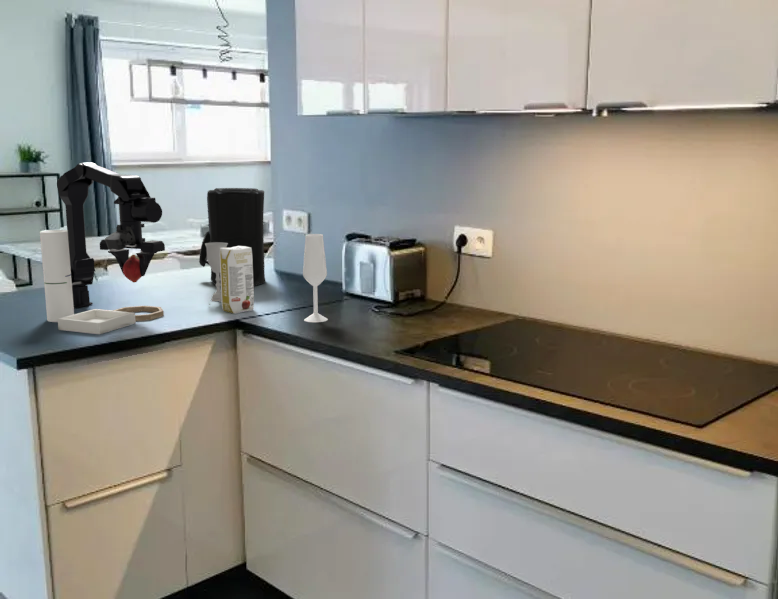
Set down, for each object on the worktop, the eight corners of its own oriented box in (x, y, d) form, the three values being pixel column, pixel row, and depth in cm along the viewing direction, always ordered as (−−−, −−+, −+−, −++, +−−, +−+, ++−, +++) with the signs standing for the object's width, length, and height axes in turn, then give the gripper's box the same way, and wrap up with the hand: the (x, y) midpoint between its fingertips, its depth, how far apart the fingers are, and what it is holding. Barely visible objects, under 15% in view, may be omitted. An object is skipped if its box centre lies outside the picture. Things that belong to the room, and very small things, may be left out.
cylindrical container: (79, 317, 228) (73, 230, 223) (62, 322, 221) (54, 233, 217) (59, 315, 230) (52, 229, 225) (41, 321, 224) (33, 232, 219)
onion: (138, 284, 224) (136, 256, 223) (119, 283, 226) (117, 255, 224) (148, 281, 230) (147, 253, 228) (130, 280, 231) (128, 253, 230)
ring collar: (101, 318, 226) (100, 313, 226) (134, 309, 239) (134, 304, 239) (141, 322, 221) (140, 317, 221) (172, 313, 234) (172, 308, 233)
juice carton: (257, 310, 237) (255, 247, 234) (233, 315, 231) (230, 249, 228) (242, 307, 242) (240, 244, 239) (218, 311, 236) (215, 247, 233)
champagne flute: (331, 320, 223) (330, 235, 219) (308, 323, 220) (307, 236, 216) (322, 316, 229) (321, 233, 225) (300, 318, 226) (298, 234, 222)
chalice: (202, 301, 252) (200, 244, 248) (215, 297, 258) (212, 241, 254) (222, 302, 249) (220, 245, 245) (234, 298, 255) (232, 242, 252)
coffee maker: (254, 274, 304) (251, 184, 297) (290, 286, 277) (288, 189, 270) (196, 279, 292) (192, 186, 285) (228, 293, 265) (224, 191, 258)
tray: (58, 329, 213) (57, 318, 212) (95, 319, 226) (95, 308, 225) (99, 334, 208) (98, 323, 207) (135, 323, 221) (135, 312, 220)
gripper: (83, 222, 220) (87, 277, 224) (138, 224, 214) (141, 282, 217) (111, 218, 231) (115, 271, 234) (164, 221, 224) (167, 275, 227)
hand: (133, 275), depth 227 cm, fingers closed on onion, 6 cm apart
